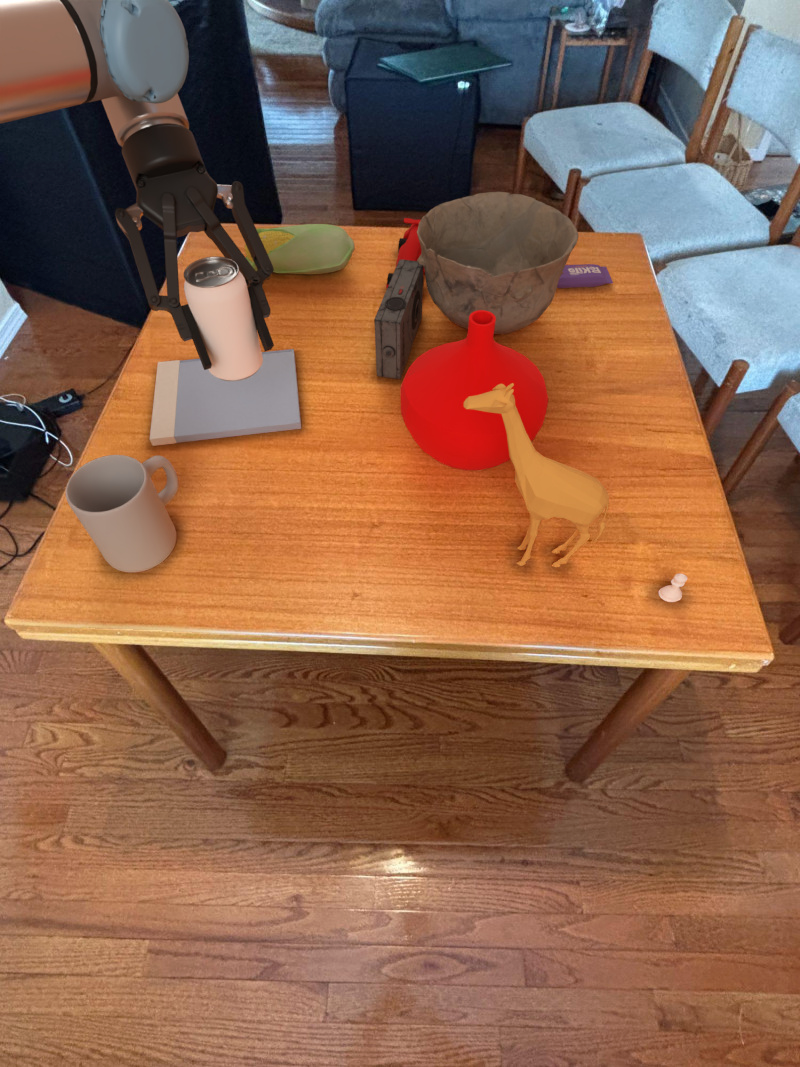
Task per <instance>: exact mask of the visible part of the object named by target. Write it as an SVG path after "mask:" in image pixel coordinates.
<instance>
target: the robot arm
mask: <svg viewBox="0 0 800 1067" xmlns="http://www.w3.org/2000/svg"><path fill="white" fill-rule="evenodd" d="M188 45H189V42H188V39H187V34H186V29H185V27H184V24H183V22H182V19H181V17H180V16H179V14H178V12H177V10H176V9H175V7H174V6H173V5H172V3H171V2H170V1H169V0H0V125H1V124H5V123H8V122H14V121H18V120H21V119H26V118H29V117H33V116H37V115H42V114H46V113H50V112H55V111H59V110H62V109H66V108H67V109H68V108H70V107H71V108H72V107H76V106H79V105H82V104H83V105H84V104H88V103H92V102H97V101H101V104H102V105H103V108H104V111H105V113H106V116H107V119H108V120H109V123H110V126H111V129H112V131H113V134H114V136H115V139H116V142H117V144H118V145H119V146H120V147H121V154H122V157H123V159H124V162H125V165H126V168H127V170H128V172H129V175H130V178H131V180H132V183H133V185H134V188H135V191H136V202H135V203H134V204H132V205H130V206H128V207H126V208H124V207H118V208H116V209H115V210H114V216H115V219H116V223H117V225H118V227H119V228H120V230H121V232H122V233H123V234H124V235H125V237H126V238H127V240H128V241H129V244H130V248H131V251H132V254H133V258H134V261H135V264H136V267H137V270H138V274H139V277H140V280H141V283H142V287H143V290H144V293H145V296H146V299H147V303H148V306H149V308H150V309H151V310H152V311H154V312H158V311H163V312H164V311H165V312H167V313H169V314H170V315H171V317H172V320H173V322H174V325H175V327H176V330H177V332H178V336H179V337H180V339H181V340H182V341H183V342H187V341H191V340H192V342H193V345H194V348H195V350H196V352H197V355H198V359H200V360H201V363H202V365H203V368H204V370H207V369H210V368H211V366H212V363H211V361H210V358H209V356H208V353H207V350H206V348H205V345H204V343H203V340H202V338H201V335H200V332H199V330H198V327H197V325H196V322H195V320H194V317H193V314H192V312H191V310H190V308H189V305H188V303H186V304H183V305H181V299H180V298H181V297H180V283H179V282H180V281H179V263H178V262H179V260H178V247H177V246H178V245H177V238H180V237H184V236H186V235H187V234H190V233H201V232H204V233H205V235H206V236H207V237H208V238H209V240H210V241H212V242H213V244H214V245H215V246H216V247H217V249H218V250H219V251H220V253H221V254H222V255H223V257H226V258H229V259H231V260H233V261H235V262H236V263H237V265H238V267H239V271H240V272H241V274H242V275H243V276H244V278H245V281H246V284H247V289H248V293H249V297H250V302H251V306H252V311H253V315H254V320H255V324H256V329H257V333H258V338H259V341H260V344H261V345H262V348H263V350H264V351H263V352H269V351H272V349H273V348H274V346H275V344H274V341H273V338H272V336H271V333H270V330H269V328H268V325H267V322H266V319H267V318H269V317H270V316H271V306H270V303H269V302H268V298H267V295H266V292H265V290H264V287H263V284H265V283H266V282H268V281H269V280H271V278H272V275H273V273H274V272H273V271H274V268H273V265H272V263H271V261H270V259H269V256H268V254H267V252H266V250H265V247H264V245H263V243H262V241H261V238H260V236H259V234H258V232H257V230H256V229H257V228H256V226H255V223H254V221H253V218H252V216H251V214H250V212H249V210H248V208H247V205H246V201H245V200H246V199H245V192H244V186H243V185H244V184H242V182H240V181H238V180H235V181H233V182H232V183H231V185H230V184H217V182H216V181H215V180H214V179H213V177H211V176H210V174H209V173H208V171H207V168H206V165H205V162H204V160H203V157H202V155H201V153H200V150H199V147H198V144H197V141H196V139H195V136H194V134H193V132H192V131H191V129H190V122H189V120H188V117H187V114H186V111H185V109H184V106H183V104H182V101H181V99H180V96H179V94H178V93H179V92H180V90H181V89H182V87H183V85H184V84H185V81H186V78H187V74H188V70H189V65H190V64H189V62H190V55H189V54H190V53H189V52H190V51H189V47H188ZM218 199H220V200H222V201H223V204H224V206H225V207H226V208H227V209H231V213H232V216H233V219H234V221H235V223H236V226H237V228H238V230H239V232H240V234H241V237H242V240H243V241H244V244H246V246H247V248H248V250H249V252H250V254H251V257H252V259H253V261H254V263H255V265H256V268H257V271H255V270H254V268H253V267H252V266H251V264H250V263H249V262H248V260H247V259H246V255H244V254H243V252H242V251H241V250H240V248H239V247H238V246H237V244H236V243H235V242H234V240H233V239H232V237H231V236H230V235H229V233H228V232H227V231H226V230H225V228H224V227H223V225H222V224H221V221H220V220H219V218H218V216H216V213H215V212H214V211H215V207H216V203H217V200H218ZM143 216H144V217H145V218H146V219H148V220H149V221H151V223H153V224H154V225H155V226H157V227H158V228H159V229H161V230H162V231H163V242H164V243H163V244H164V245H163V246H164V262H165V280H166V281H165V282H166V295H160V294H159V290H158V287H157V284H156V281H155V276H154V274H153V270H152V268H151V264H150V261H149V257H148V254H147V252H146V248H145V245H144V241H143V238H142V235H141V232H140V231H141V230H142V229H143V222H142V217H143Z"/></svg>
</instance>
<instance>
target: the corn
mask: <svg viewBox="0 0 800 1067" xmlns="http://www.w3.org/2000/svg"><path fill="white" fill-rule="evenodd" d="M256 230H257V232H258V234H259V236H260V238H261V241H262V243H263V245H264V247H265V250H266V252H267V254H268V256H269V259H270V261H271V263H272V265H273V268H274V271H273V273H277V274H290V275H291V274H294V275H320V274H330V273H335V272H338V271H340V270H343V269H344V268H346V267H347V265H348V264H349V262H350V260H351V258H352V257H353V256H352V255H353V253H354V252H355V248H356V245H355V241H354V240H353V238H352V237H351V236H350V235H349V234H348V233H347V231H346V230H345V229H344V228H342V227H341V226H338V225H334V224H326V223H306V224H297V225H287V226H279V227H271V228H256ZM244 252H245V253H244V254H245V258H246V259H247V260H248V262H249V263H250V264H251V266H252V267H253V268H254V270H255V271H257V268H256V265H255V263H254V261H253V259H252V257H251V254H250V252H249V250H248V248H247V246H246V243H244Z"/></svg>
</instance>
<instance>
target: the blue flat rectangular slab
mask: <svg viewBox="0 0 800 1067" xmlns="http://www.w3.org/2000/svg"><path fill="white" fill-rule="evenodd" d="M261 352H262V357H263V362H262V365H261V367H260V368H259V370H258V371H257V372H256V373H255V374H254V375H252V376H251V377H249V378H246V379H244V380H239V381H225V380H221V379H219V378H217V377H215V376H214V375H212V374H211V373H210V371H209V369H207V370H204V368H203V365H202V363H201V360H200V358H191V359H183V360H180V359H175V360H166V361H165V360H164V361H157V366H156V376H155V386H154V394H153V402H152V413H151V422H150V431H149V441H150V443H151V446H153V447H155V446H165V445H171V444H179V443H187V442H196V441H205V440H214V439H223V438H232V437H241V436H249V435H257V434H264V433H266V434H267V433H276V432H283V431H284V432H285V431H295V430H301V429H302V419H301V407H300V396H299V387H298V385H299V384H298V375H297V365H296V364H297V363H296V354H295V349H294V348H290V349H289V348H288V349H279V350H268V351H261Z"/></svg>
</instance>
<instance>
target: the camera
mask: <svg viewBox="0 0 800 1067" xmlns="http://www.w3.org/2000/svg"><path fill="white" fill-rule="evenodd" d="M392 273H393V276H392V278H391V281H390V283H389V285H388V288H386V289H385V292H384V295H383V297H382V300H381V302H380V305H379V307H378V309H377V311H376V314H375V317H374V319H373V320H374V343H375V344H374V345H375V364H376V365H375V366H376V367H375V368H376V377H381V378H387V379H395V380H402V378H403V374H404V370H405V369H406V366H407V363H408V360H409V357H410V354H411V352H412V348H413V345H414V342H415V339H416V336H417V334H418V331H419V327H420V324H421V322H422V319H423V297H424V296H423V294H424V284H423V277H424V273H423V265H421V264H419V263H418V261H411V260H403V259H402V260H399V262H398V264H397V266H396V265H395V269H394V272H392Z"/></svg>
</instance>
